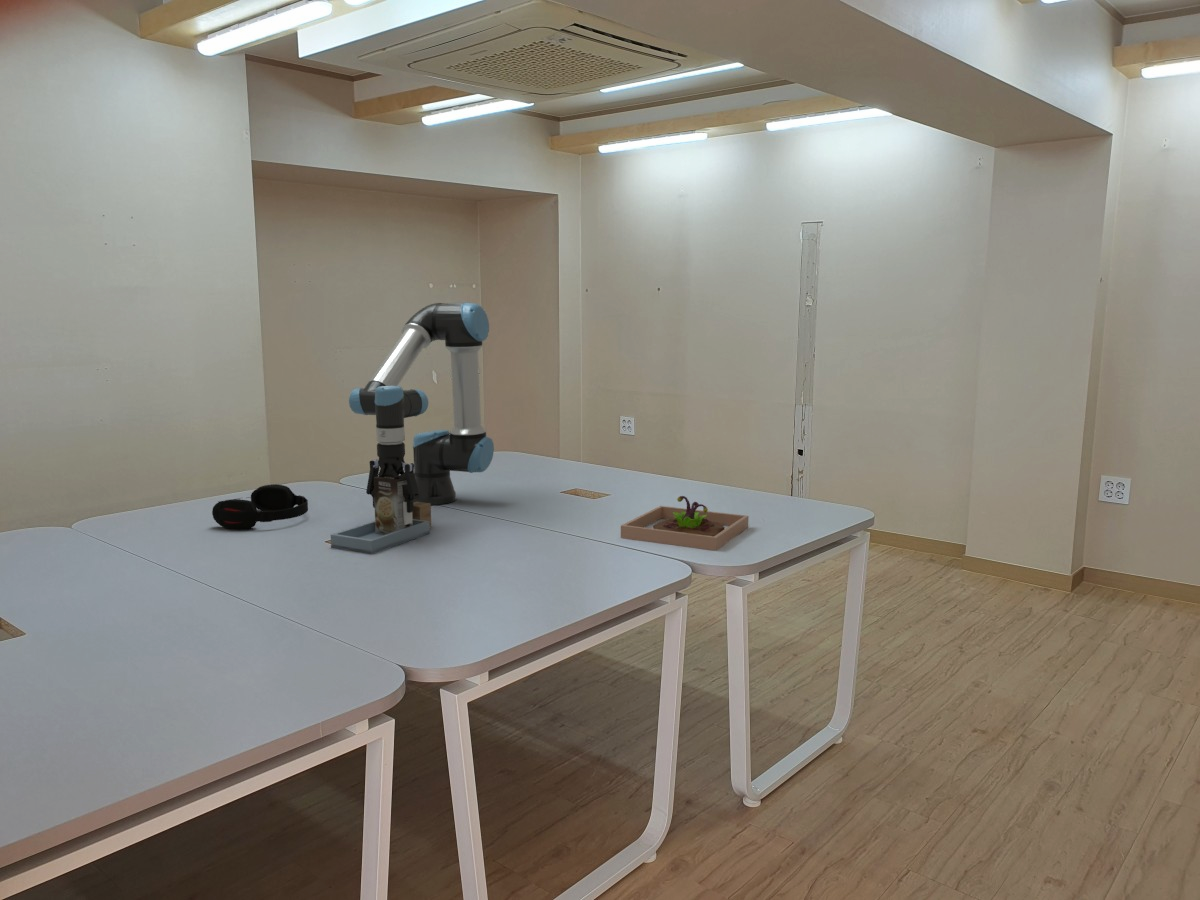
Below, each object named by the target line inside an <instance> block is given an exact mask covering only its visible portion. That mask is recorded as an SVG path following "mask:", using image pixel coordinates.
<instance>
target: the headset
mask: <svg viewBox="0 0 1200 900" xmlns="http://www.w3.org/2000/svg"><path fill="white" fill-rule="evenodd" d="M247 499H250V500H247ZM247 499H242V497H239V498H233V499H225V500H221V501H219V500H218V501H217V503H215V504H214V505H213V507H212V512H211V514H212V518H213V520H214V521H215V522H216V523H217V524H218V525H219V526H221V527H222V528H224V529H225V530H231V531H248V530H251V529H252V528H254V527H255V526H256V525H257V523H258V522H260V523H270V522H274V521H283V520H289V519H294V518H298V517H302V516H303V515H305V514H306V513H308V510H309V507H308V506H309V503H308V502H309V501H308V499H307V498H306V497H305V496H304V495H296V494H295V493H294V492H293V491H292V489H290V487H288V486H286V485H282V484H278V483H277V484H274V483H273V484H266V485H262V486H258V488H256V489H254V490H253V491H252V492H251V495H250V497H249V496H248V497H247ZM258 510H259V511H258Z"/></svg>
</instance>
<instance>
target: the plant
mask: <svg viewBox="0 0 1200 900" xmlns="http://www.w3.org/2000/svg"><path fill="white" fill-rule="evenodd" d="M676 500H677V502H679V503H681V502H683V500H685V503H686V508H685V509H686V512H684V511H682V512H681V513H682V515H680V514H679V513H676V512H673V513H674V514H675V516H676V517H674V518H669V519H666V518H665V519H663V520H661V521H659V522H657V523H655V524H653V525H652V529H659V530H667V531H675V532H682V533H690V534H698V535H706V536H715V535H717V534H718V533H720V532H721V531H723V530H724V529H726V528H725V527H724V525H722V524H720V523H718V522H711V521H709V520H707V519H704V517H706V516H707V515H703V516H699V517H698V515H699V512H695V510H698V508H699V507H702V508H703V509H702V511H704V512H707V511H709V510H708V507H707V506H706V505H704V504H701V503H700V504H699V502H697V501H694V502H692V504H690V500H689V499H688V497H686V496H685V495H680V496H678V497H677V499H676Z"/></svg>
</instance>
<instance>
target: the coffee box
mask: <svg viewBox="0 0 1200 900" xmlns="http://www.w3.org/2000/svg"><path fill="white" fill-rule="evenodd" d="M402 485H407V481H406V477H405V478H402V479H395V478H394V477H393V476H390V475H389V476H384V477H379V476H377V477H374V500H375V508H374V521H375V532H376V533H379V534H384V535H386V534H389V533H392V532H395V531H398V530H401V529H404V528H407V527H410V526H413V512H412V523H410V524H407V525H404V517H403V501H404V500H405V498H404V496H403V489H402Z"/></svg>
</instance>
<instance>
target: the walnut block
mask: <svg viewBox="0 0 1200 900" xmlns="http://www.w3.org/2000/svg"><path fill="white" fill-rule="evenodd" d="M431 506H432V505H431V503H424V502H414V503H413V507H414V510H413V519H416V520H423V521H429V526H430V528H431V527H432V510H431V509H432V507H431Z"/></svg>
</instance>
